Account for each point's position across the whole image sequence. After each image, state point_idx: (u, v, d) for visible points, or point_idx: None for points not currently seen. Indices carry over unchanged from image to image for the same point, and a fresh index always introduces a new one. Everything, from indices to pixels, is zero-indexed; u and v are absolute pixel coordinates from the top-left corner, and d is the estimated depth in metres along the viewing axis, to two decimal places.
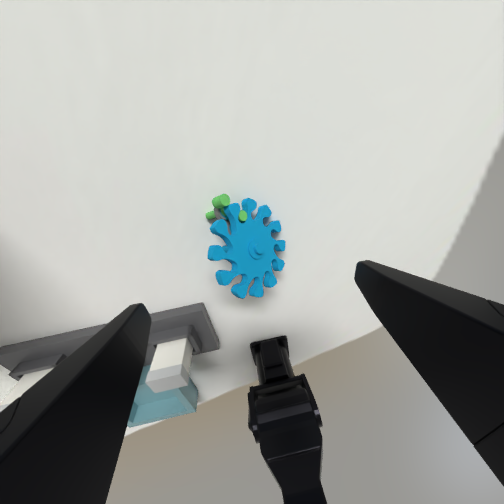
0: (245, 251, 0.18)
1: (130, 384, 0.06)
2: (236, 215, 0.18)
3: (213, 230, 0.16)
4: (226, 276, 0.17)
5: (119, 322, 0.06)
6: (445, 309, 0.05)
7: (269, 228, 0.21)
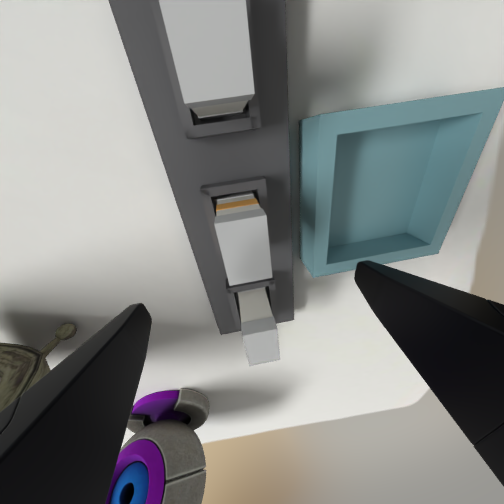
0: None
1: (130, 384, 0.06)
2: None
3: None
4: None
5: (119, 322, 0.06)
6: (445, 309, 0.05)
7: None
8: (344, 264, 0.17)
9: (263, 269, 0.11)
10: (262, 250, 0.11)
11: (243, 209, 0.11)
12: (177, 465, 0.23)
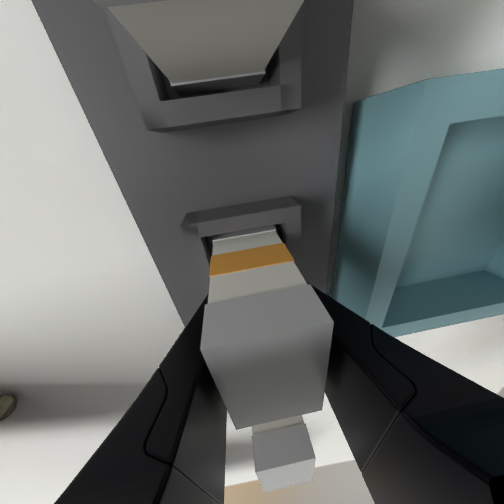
0: None
1: None
2: None
3: None
4: None
5: None
6: None
7: None
8: (407, 326, 0.11)
9: (307, 402, 0.06)
10: (310, 378, 0.05)
11: (266, 281, 0.05)
12: None
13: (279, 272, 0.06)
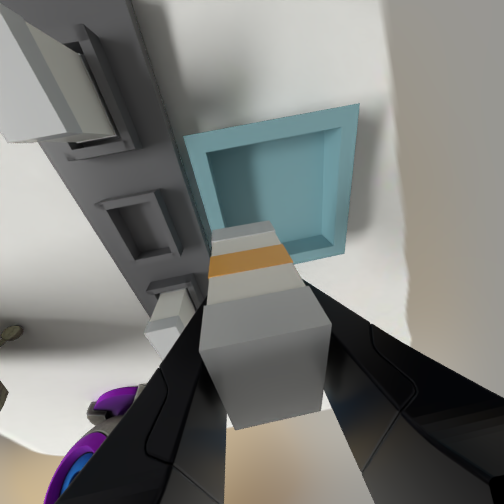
0: None
1: None
2: None
3: None
4: None
5: None
6: None
7: None
8: None
9: (305, 403, 0.06)
10: (309, 379, 0.05)
11: (265, 283, 0.05)
12: None
13: (278, 273, 0.06)
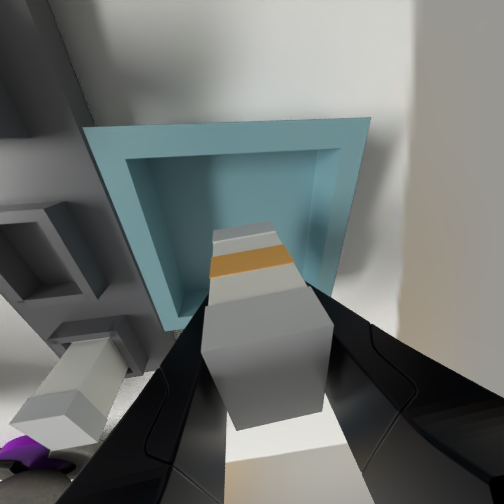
0: None
1: None
2: None
3: None
4: None
5: None
6: None
7: None
8: None
9: (307, 404, 0.06)
10: (310, 380, 0.05)
11: (267, 283, 0.05)
12: None
13: (279, 274, 0.06)
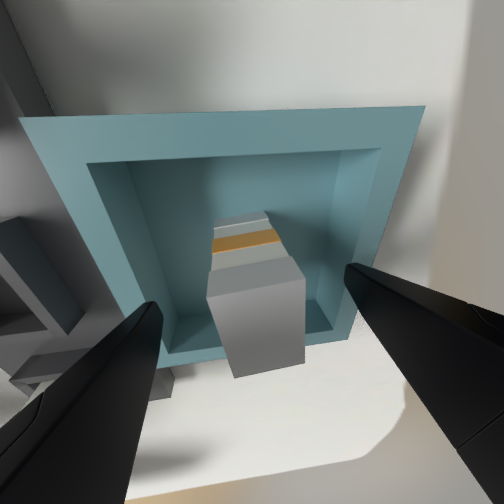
0: None
1: (146, 381, 0.06)
2: None
3: None
4: None
5: (134, 319, 0.06)
6: (427, 313, 0.05)
7: None
8: (200, 353, 0.11)
9: (291, 354, 0.07)
10: (292, 330, 0.06)
11: (258, 255, 0.07)
12: None
13: (268, 249, 0.07)
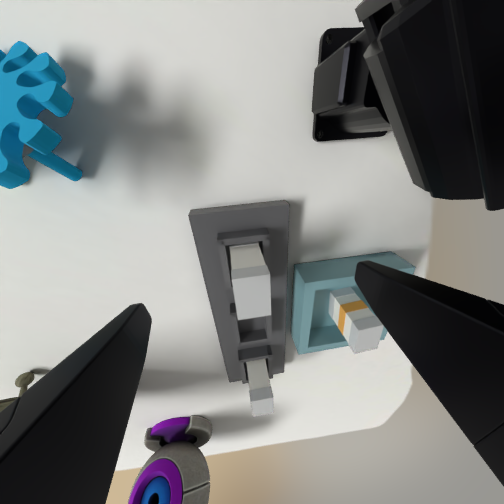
0: None
1: (130, 384, 0.06)
2: None
3: None
4: None
5: (119, 322, 0.06)
6: (445, 309, 0.05)
7: None
8: (320, 347, 0.26)
9: (374, 345, 0.21)
10: (376, 338, 0.20)
11: (363, 314, 0.21)
12: (191, 480, 0.31)
13: (365, 311, 0.21)
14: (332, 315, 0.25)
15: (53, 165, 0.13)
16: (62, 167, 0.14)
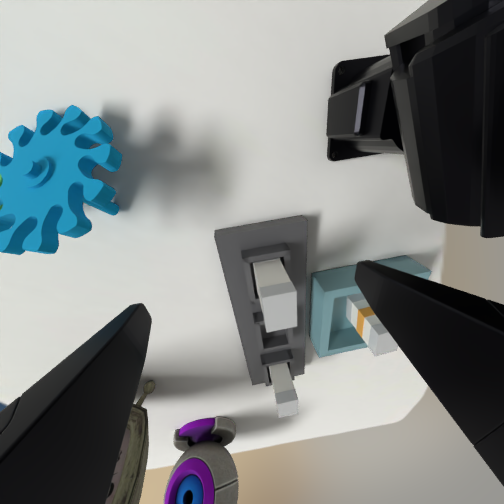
0: (29, 194, 0.11)
1: (130, 384, 0.06)
2: None
3: None
4: (31, 241, 0.11)
5: (119, 322, 0.06)
6: (445, 309, 0.05)
7: (35, 135, 0.12)
8: (339, 349, 0.27)
9: (393, 347, 0.22)
10: None
11: None
12: (221, 477, 0.32)
13: None
14: (350, 318, 0.26)
15: (97, 205, 0.15)
16: (104, 205, 0.15)
